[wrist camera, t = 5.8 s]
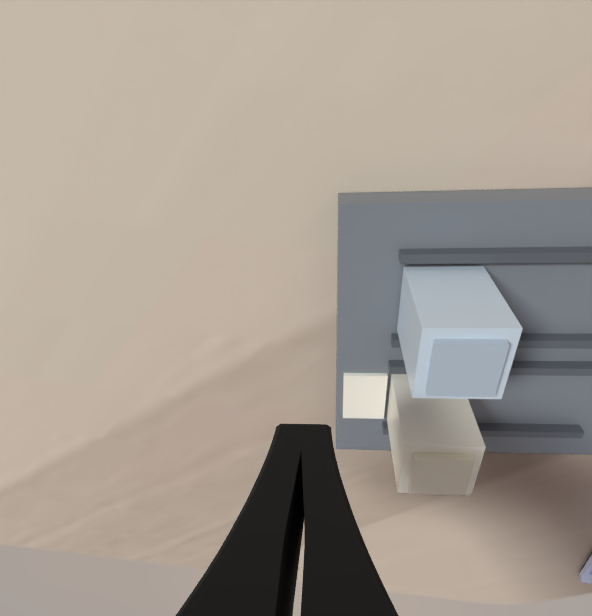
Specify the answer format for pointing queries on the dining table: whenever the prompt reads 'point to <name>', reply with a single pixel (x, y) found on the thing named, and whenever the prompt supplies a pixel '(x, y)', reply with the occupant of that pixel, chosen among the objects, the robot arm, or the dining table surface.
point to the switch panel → (510, 282)
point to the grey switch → (455, 333)
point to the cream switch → (432, 442)
